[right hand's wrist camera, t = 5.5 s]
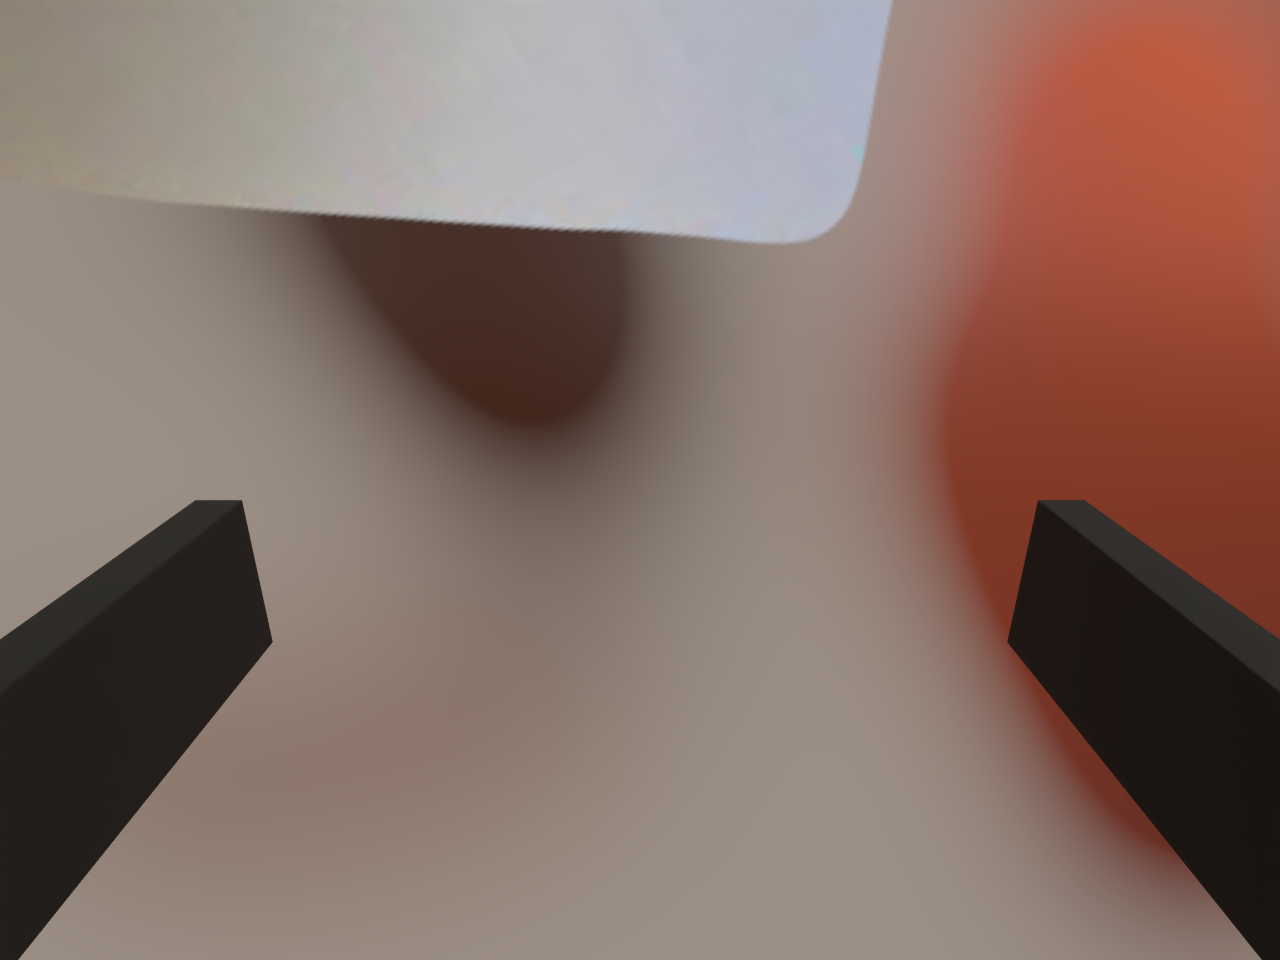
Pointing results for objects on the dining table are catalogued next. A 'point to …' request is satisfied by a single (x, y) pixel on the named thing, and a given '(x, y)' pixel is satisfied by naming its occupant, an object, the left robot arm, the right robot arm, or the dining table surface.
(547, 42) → the dining table surface
